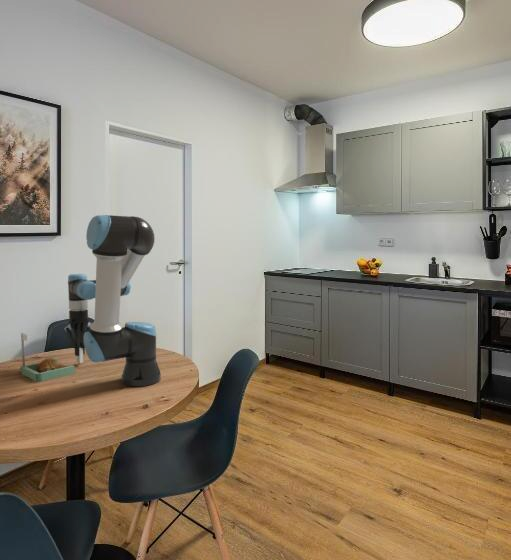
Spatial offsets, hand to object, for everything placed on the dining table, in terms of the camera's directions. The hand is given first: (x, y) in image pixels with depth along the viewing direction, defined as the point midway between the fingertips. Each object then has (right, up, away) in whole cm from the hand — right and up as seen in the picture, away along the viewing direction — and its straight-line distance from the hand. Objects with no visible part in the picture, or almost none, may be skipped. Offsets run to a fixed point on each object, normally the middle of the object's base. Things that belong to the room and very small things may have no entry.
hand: (80, 362), depth 183 cm
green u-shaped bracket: (-9, -2, -10) cm, 13 cm away
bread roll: (-8, -3, -10) cm, 13 cm away
